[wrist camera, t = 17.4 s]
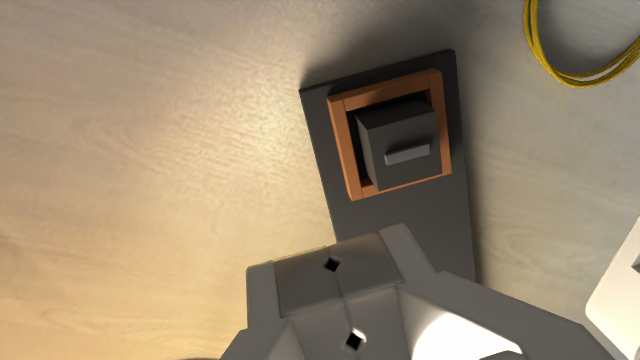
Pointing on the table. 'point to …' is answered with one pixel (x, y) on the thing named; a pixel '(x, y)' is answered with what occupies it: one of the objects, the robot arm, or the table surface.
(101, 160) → the table surface
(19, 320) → the table surface
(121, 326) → the table surface
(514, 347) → the robot arm
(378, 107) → the black block
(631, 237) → the angled bracket with hole
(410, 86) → the base pad
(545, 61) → the extension cord
